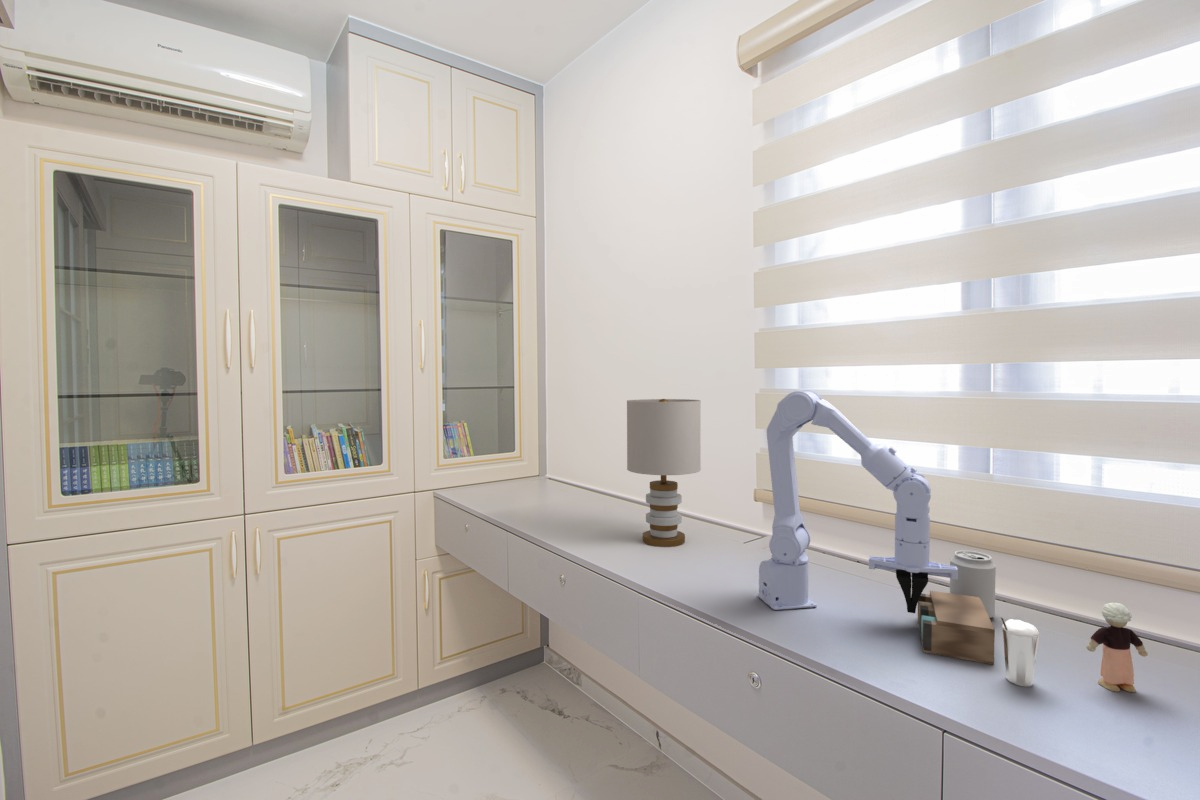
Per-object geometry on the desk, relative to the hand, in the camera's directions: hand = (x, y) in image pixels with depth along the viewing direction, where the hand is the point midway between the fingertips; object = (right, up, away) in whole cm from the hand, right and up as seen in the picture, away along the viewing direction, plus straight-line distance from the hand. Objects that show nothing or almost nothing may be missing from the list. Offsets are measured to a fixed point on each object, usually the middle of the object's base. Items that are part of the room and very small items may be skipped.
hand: (911, 610), depth 107 cm
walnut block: (+4, -3, -6) cm, 8 cm away
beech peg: (+6, -2, -3) cm, 7 cm away
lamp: (-40, -1, +57) cm, 70 cm away
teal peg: (+3, -2, -9) cm, 10 cm away
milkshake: (+5, -4, -20) cm, 21 cm away
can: (+15, -3, +5) cm, 16 cm away
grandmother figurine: (+19, -4, -21) cm, 29 cm away
